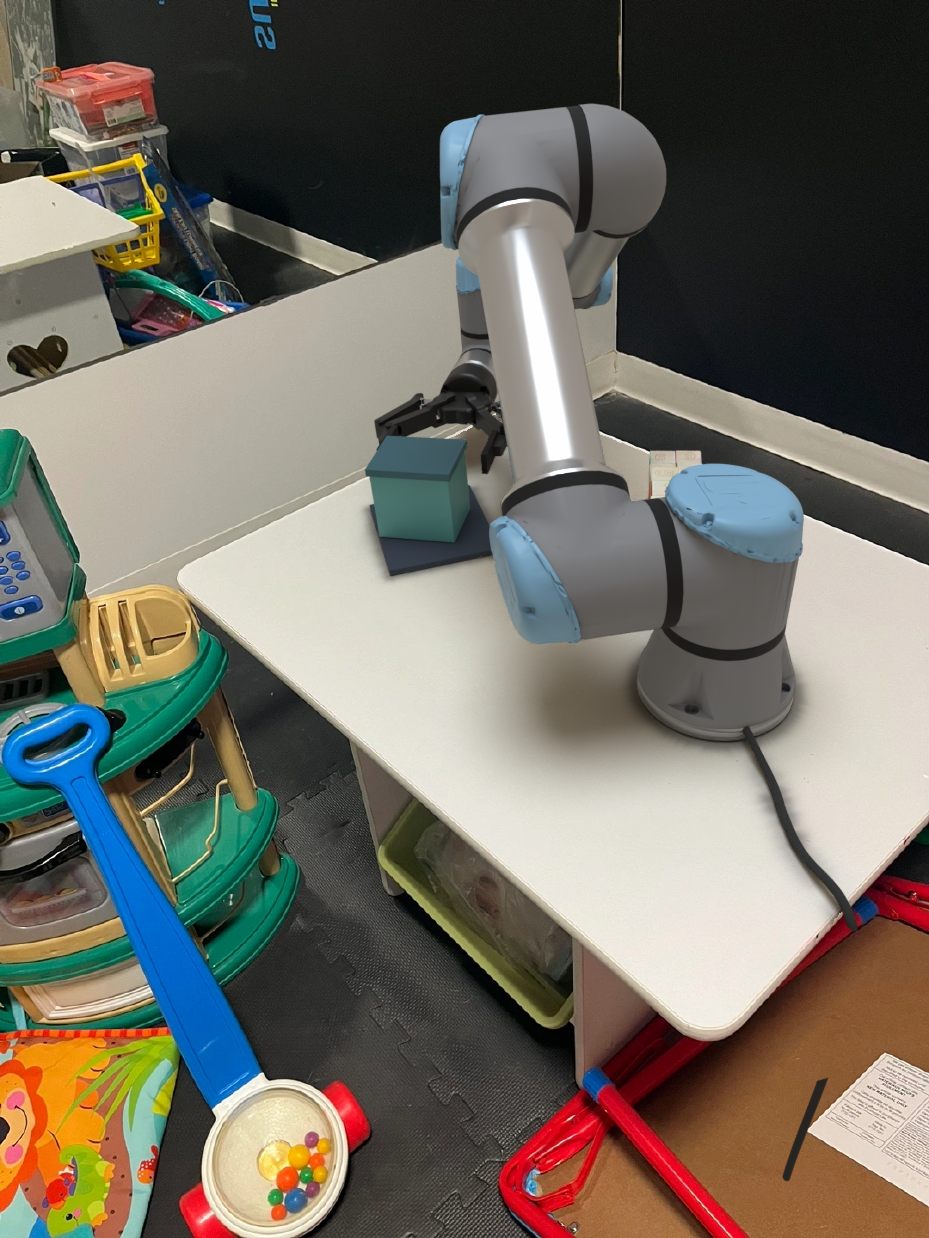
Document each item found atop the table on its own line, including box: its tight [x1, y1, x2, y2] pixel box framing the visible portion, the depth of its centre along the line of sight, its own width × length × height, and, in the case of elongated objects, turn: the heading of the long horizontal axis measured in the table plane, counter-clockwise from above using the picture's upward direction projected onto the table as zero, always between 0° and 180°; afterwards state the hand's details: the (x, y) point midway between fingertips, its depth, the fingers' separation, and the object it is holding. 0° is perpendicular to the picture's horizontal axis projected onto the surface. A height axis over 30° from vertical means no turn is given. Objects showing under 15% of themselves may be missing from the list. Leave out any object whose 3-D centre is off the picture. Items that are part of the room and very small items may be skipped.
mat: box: [369, 484, 493, 577], centre depth 118 cm, size 16×14×1 cm
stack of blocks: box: [647, 450, 703, 499], centre depth 105 cm, size 21×6×12 cm, turn 171°
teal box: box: [364, 436, 470, 543], centre depth 115 cm, size 9×11×10 cm
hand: (431, 461), depth 115 cm, fingers open, 13 cm apart
